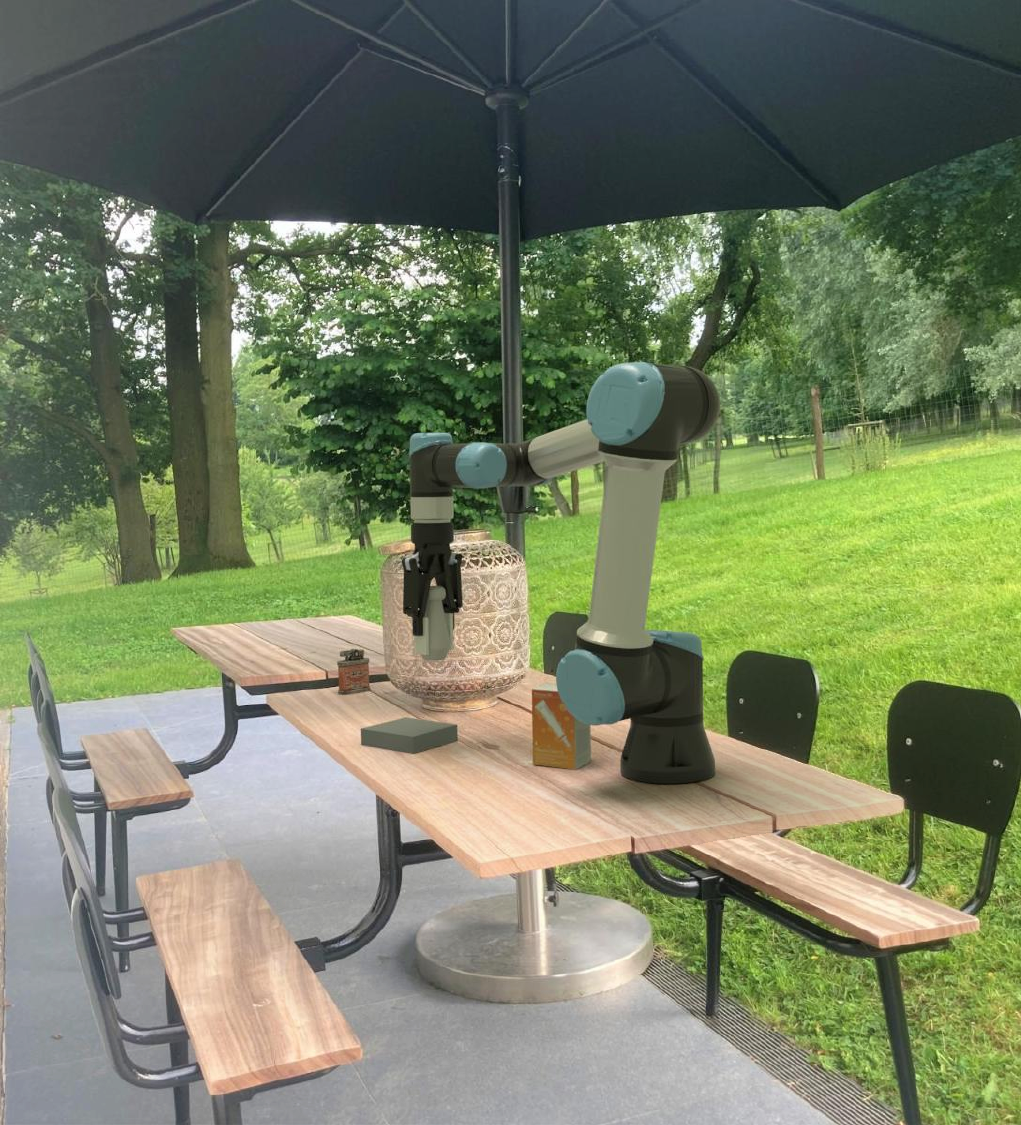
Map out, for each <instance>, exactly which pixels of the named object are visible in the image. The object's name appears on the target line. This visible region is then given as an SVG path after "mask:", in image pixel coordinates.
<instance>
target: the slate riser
mask: <svg viewBox="0 0 1021 1125" xmlns="http://www.w3.org/2000/svg"><path fill="white" fill-rule="evenodd" d="M458 738H459V737H458V724H455V723H449V722H441V721H434V720H427V719H421V718H420V719H419V718H414V717H402V718H397V719H394V720H390V721H389V720H388V721H386V722H381V723H378V724H375V725H370V726H366V727H362V728H360V745H361V746H365V747H372V748H379V749H384V750H390V751H396V752H402V753H408V754H416V753H420V752H423V751H427V750H429V749H433V748H437V747H441V746H444V745H447V744H451V743H454V742H458V740H459V739H458Z"/></svg>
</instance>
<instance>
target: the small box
mask: <svg viewBox="0 0 1021 1125" xmlns="http://www.w3.org/2000/svg"><path fill="white" fill-rule="evenodd" d="M531 716H532V717H531V720H532V722H531V725H532V726H531V727H532V728H531V729H532V737H531V738H532V764H533V765H535V766H544V767H552V768H560V769H569V770H573V771H575V770H578V769H580V768H581V767H584V766H585V765H587V764H589V763H590V762H591V761H592V749H591V748H592V745H591V744H592V743H591V742H592V739H591V730H592V729H591V725H587V724H584V723H582V722H580V721H578V720H577V719H576V718H574V717H573V716H572V715H571V714H570V713H569V712H568V710H567V709H566V706H565V704H564V703H563V702H562V701H561V698H560V696H559V693H558V690H557V684H556V683H549V682H548V683H544V684H542V685H539V686H536V687H533V688H532V689H531Z"/></svg>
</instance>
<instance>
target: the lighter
mask: <svg viewBox="0 0 1021 1125" xmlns="http://www.w3.org/2000/svg"><path fill="white" fill-rule="evenodd" d="M364 656H365V648H364V649H362V648H361V649H360V648H359V649H358V648H354V647H353V648H351V649H350V650H349V649H347V650H341V651H340V652H339V657H341V658H344V659H342V660H337V661H336V662H337V663H336V664H337V666H338V668H337V669H338V670H337V671H338V673H337V674H338V675H337V676H338V689H337V691H338V692H337V693H338V694H337V695H340V696H347V695H355V694H362V693H366V692H370V691H371V686H370V670H369V669H370V665H369V663H370V658H369V657H364Z"/></svg>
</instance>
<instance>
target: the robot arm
mask: <svg viewBox="0 0 1021 1125" xmlns="http://www.w3.org/2000/svg"><path fill="white" fill-rule="evenodd" d="M719 393H720V392H719V391H718V388H717V386H716V385H715V382H714V381H713V380H712V379H711V378H710V377H709V376H708V375H707V374H706V373H705V372H703V371H702V370H699V369H698V368H695V367H692V366H688V365H687V366H686V365H672V364H661V363H650V362H645V361H639V362H638V361H637V362H636V361H634V362H622V363H617V364H614V365H612V366H610V367H609V368H607V369H606V370H605V371H604V372H603V373H602V374H601V375H599V376H598V378H597V379H596V380H595V381H594V383H593V385H592V387H591V389H590V391H589V395H588V398H587V403H586V419H584V420H580V421H578V422H576V423H575V422H574V423H572V424H569V425H566V426H564V427H561V428H558V429H555V430H553V431H550V432H547V433H544V434H542V435H539V436H536V437H535V438H530V439H527V440H525V441H522V442H516V443H510V442H509V443H508V442H506V443H505V442H501V443H498V442H497V443H496V442H495V443H492V442H491V443H489V442H485V441H484V442H483V441H481V442H480V441H479V442H478V441H477V442H467V443H454V442H453V436H452V435H451V434H450V433H449V432H417V433H413V434H412V435H411V436H410V438H409V454H408V459H409V464H408V465H409V492H410V494H409V495H410V519H411V520H414V521H413V522H411V524H410V541H411V543H412V544H414V550H413V554H412V555H411V556H410V557H403V558H401V565H402V569H403V590H402V591H403V592H402V593H403V594H402V595H403V596H402V598H403V599H402V602H403V603H402V613H403V614H404V615H407V617H410V618H411V620H412V622H411V623H412V625H411V626H412V635H413V638H414V640H413V641H414V642H413V643H414V644H413V645H414V655H420V656H421V655H429V628H428V617H424V616H425V612H426V606H427V601H428V595H429V590H430V586H432V585H431V583H432V581H433V580H434V581H435V584H436V585H435V586H442V587H443V588H444V589H445V592H446V597H445V599H443V600H442V605H443V610H444V615H445V620H446V624H447V629H448V634H449V639H450V644H451V647H450V650H449V651H453V650H454V630H455V614H458V613H459V612H460V609H461V608H463V604H464V602H463V585H462V569H461V568H462V562H463V554H462V553H455V552H452V551H453V550H452V549H451V544H452V543H453V542H454V539H455V538H454V536H455V535H454V534H455V533H454V523H453V522H451V520H452V519H454V490H453V488H462V489H463V488H464V489H465V488H466V489H467V488H468V489H475V490H478V489H488V488H501V487H530V488H532V487H533V488H534V487H537V486H544V485H547V484H549V483H550V482H552V481H553V479H554V478H555V477H558V476H561V475H564V474H565V475H566V474H569V473H571V472H574V471H578V470H581V469H583V468H587V467H590V466H594V465H597V464H599V463H603V462H604V464H605V465H606V470H605V476H604V485H603V494H602V502H601V510H600V512H601V513H600V520H599V528H598V535H597V536H598V537H597V543H596V544H597V546H596V553H595V561H594V569H593V570H594V572H593V580H592V585H591V586H592V588H591V594H590V596H591V597H590V603H589V612H588V619H587V621H586V622H585V623H584V624H583V625H581V626H580V627H579V628H577V630H576V636H575V645H574V650H570V651H568V653H566V654H564V655H565V656H564V657H562V658H561V659H560V661H559V663H558V664H557V668H556V673H555V682H556V683H555V684H557V690H558V693H559V696H560V698H561V701H562V702H563V703H564V704H565V706H566V709H567V710H568V712H569V713H570V714H571V715H572V716H573V717H574V718H576V719H577V720H578V721H580V722H582V723H584V724H587V725H590V726H594V727H595V726H603V725H607V726H608V725H615V724H617V723H618V722H622V721H625V720H626V721H627V720H630V724H629V729H628V733H627V736H626V738H625V743H624V745H623V749H622V753H621V755H620V759H619V761H620V762H619V764H620V765H619V766H620V774H621V776H623V777H624V778H627V779H630V780H634V781H637V782H643V783H649V784H650V783H653V784H670V785H672V784H687V783H695V782H699V781H704V780H707V779H710V778H712V777H713V776H715V774H716V759H715V755H714V754H713V753H714V752H713V750H712V747H711V744H710V741H709V737H708V735H707V733H706V729H705V725H704V681H703V680H704V679H703V678H704V675H703V674H704V672H703V670H704V669H703V666H704V665H703V664H704V662H703V661H704V660H705V659H704V655H703V647H702V646H703V645H702V640H701V638H700V637H699V636H698V635H697V634H696V633H691V632H685V631H684V632H682V631H671V630H658V629H646V622H647V621H646V620H647V615H648V614H647V613H648V606H649V599H650V598H649V597H650V592H651V591H650V590H651V584H652V583H651V582H652V576H653V575H652V574H653V567H654V559H655V552H656V551H655V550H656V544H657V536H658V529H659V521H660V520H659V519H660V514H661V504H662V497H663V490H664V481H665V473H666V471H667V470H668V469H669V468H670V467H671V466H673V465H674V464H675V463H677V461H678V454H679V449H680V448H679V446H680V445H685V444H691V443H694V442H697V441H699V440H701V439H703V438H705V437H706V436H707V435H708V434H709V433H711V431H712V430H713V428H714V427H715V426H716V424H717V421H718V419H719V417H720V412H721V398H720V396H721V395H720V394H719Z"/></svg>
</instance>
